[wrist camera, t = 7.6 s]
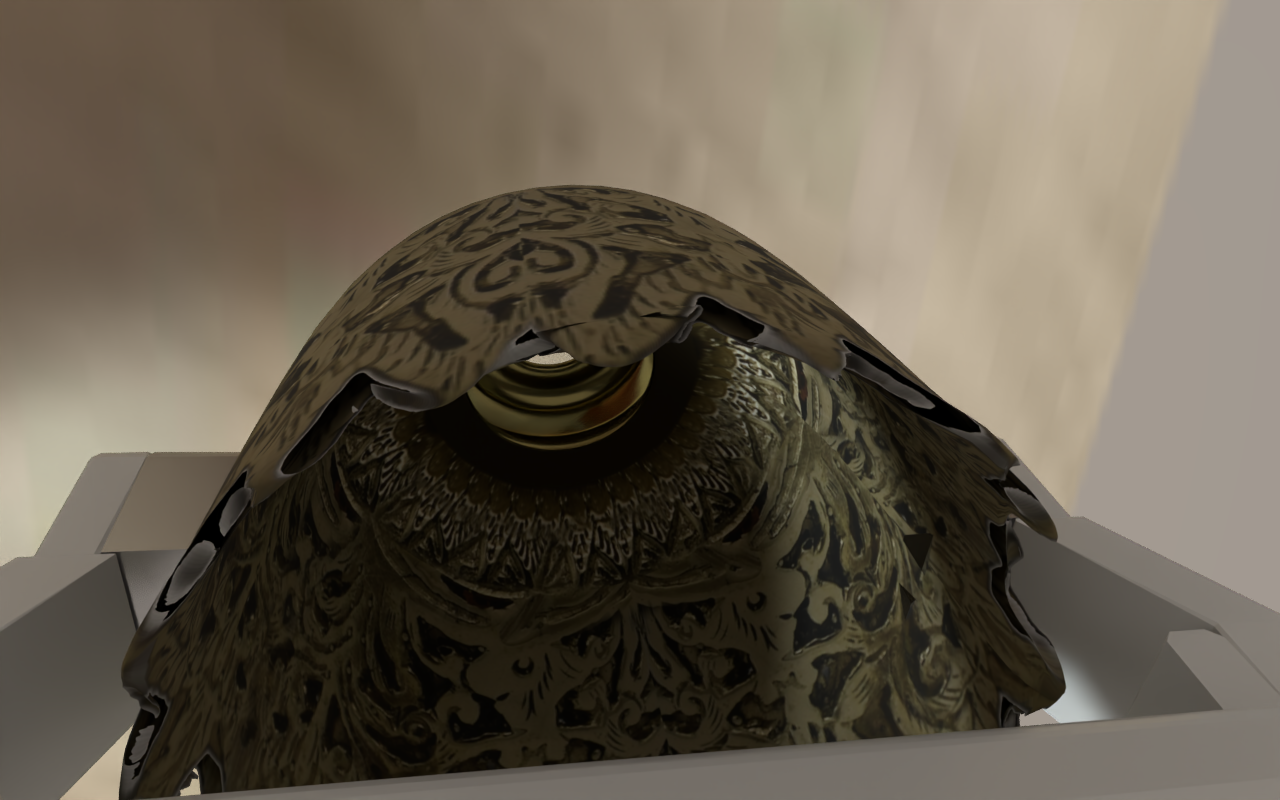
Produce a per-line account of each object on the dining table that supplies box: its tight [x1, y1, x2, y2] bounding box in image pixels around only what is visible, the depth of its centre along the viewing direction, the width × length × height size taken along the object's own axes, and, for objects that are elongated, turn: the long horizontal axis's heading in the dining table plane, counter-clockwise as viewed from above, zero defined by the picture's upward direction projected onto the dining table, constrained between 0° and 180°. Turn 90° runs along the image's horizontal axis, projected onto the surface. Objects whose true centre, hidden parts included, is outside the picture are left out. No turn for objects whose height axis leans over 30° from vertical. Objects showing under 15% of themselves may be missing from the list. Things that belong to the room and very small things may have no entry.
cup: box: [119, 185, 1066, 800], centre depth 11 cm, size 8×7×8 cm
